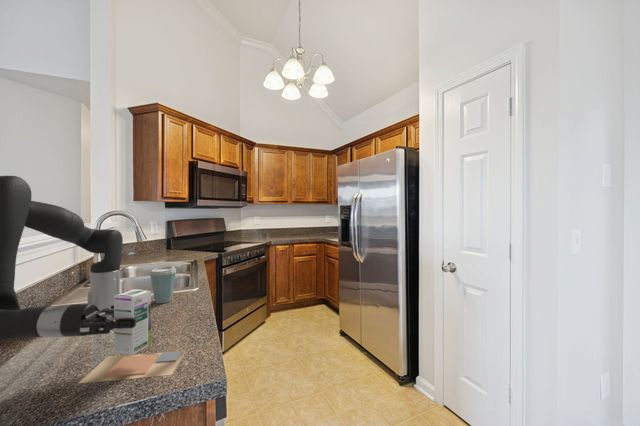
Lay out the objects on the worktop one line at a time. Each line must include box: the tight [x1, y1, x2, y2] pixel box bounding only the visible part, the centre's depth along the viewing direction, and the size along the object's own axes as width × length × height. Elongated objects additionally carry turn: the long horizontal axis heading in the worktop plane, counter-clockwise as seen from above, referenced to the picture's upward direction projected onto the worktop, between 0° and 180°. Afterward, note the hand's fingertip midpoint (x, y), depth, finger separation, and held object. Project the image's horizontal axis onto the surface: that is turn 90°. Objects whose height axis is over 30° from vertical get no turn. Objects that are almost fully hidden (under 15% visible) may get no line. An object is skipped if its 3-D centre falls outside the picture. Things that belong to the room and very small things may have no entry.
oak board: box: [77, 350, 187, 385], centre depth 72 cm, size 20×12×1 cm, turn 100°
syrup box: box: [113, 288, 152, 355], centre depth 72 cm, size 6×6×14 cm
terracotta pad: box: [104, 354, 159, 378], centre depth 72 cm, size 9×9×1 cm
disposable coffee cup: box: [149, 265, 177, 304], centre depth 127 cm, size 11×11×15 cm
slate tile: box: [156, 350, 183, 363], centre depth 76 cm, size 5×5×1 cm
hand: (142, 316), depth 72 cm, fingers closed on syrup box, 7 cm apart
